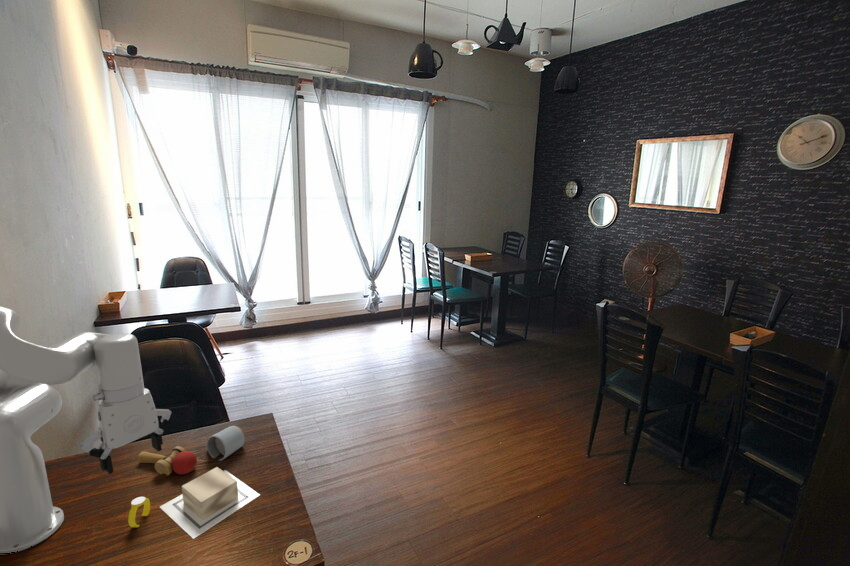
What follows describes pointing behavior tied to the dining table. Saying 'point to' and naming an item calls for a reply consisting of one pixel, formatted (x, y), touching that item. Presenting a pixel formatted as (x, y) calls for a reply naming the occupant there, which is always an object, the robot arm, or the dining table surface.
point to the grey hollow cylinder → (225, 442)
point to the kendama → (171, 461)
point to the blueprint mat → (198, 526)
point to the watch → (135, 505)
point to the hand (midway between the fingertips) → (133, 459)
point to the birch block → (209, 492)
